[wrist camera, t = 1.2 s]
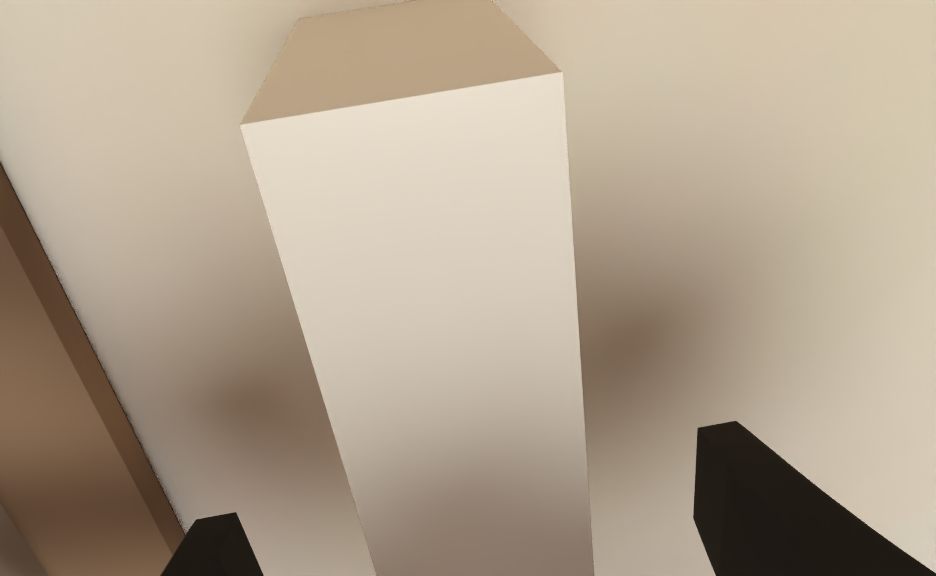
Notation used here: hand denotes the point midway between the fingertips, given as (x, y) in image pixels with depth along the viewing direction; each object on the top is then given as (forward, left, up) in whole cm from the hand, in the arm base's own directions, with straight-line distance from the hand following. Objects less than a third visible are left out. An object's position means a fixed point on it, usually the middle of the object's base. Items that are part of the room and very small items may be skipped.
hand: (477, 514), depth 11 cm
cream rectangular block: (0, 0, -5) cm, 5 cm away
